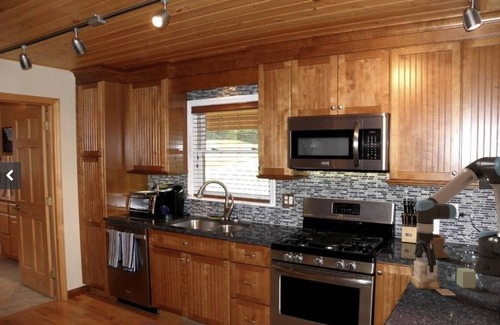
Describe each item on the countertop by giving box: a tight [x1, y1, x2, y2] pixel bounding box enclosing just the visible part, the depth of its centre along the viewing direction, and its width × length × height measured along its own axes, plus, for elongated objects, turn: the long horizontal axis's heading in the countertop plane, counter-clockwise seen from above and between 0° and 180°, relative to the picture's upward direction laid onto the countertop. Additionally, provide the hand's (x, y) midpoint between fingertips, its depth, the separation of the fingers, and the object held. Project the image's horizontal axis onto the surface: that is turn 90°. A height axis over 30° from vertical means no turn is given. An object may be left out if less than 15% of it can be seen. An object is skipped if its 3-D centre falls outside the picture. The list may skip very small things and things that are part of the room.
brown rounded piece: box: [422, 233, 450, 259], centre depth 244 cm, size 15×12×15 cm
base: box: [409, 275, 441, 290], centre depth 190 cm, size 11×11×3 cm
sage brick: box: [456, 267, 477, 289], centre depth 189 cm, size 6×6×8 cm
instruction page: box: [434, 288, 456, 296], centre depth 180 cm, size 6×8×1 cm
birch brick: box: [413, 260, 438, 282], centre depth 190 cm, size 8×8×8 cm
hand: (424, 274), depth 190 cm, fingers open, 13 cm apart
